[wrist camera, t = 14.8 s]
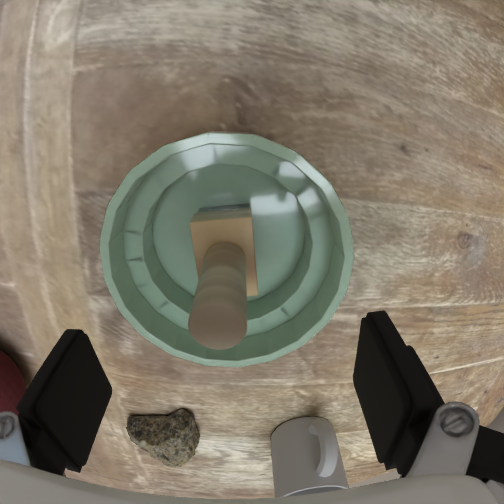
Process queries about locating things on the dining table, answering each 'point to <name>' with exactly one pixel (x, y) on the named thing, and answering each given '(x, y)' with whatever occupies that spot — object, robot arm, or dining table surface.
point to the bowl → (265, 241)
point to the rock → (166, 436)
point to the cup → (306, 458)
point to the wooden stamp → (222, 274)
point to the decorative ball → (10, 384)
